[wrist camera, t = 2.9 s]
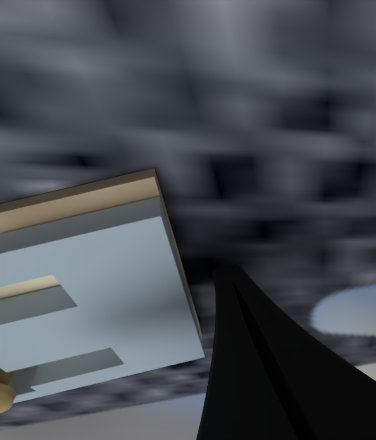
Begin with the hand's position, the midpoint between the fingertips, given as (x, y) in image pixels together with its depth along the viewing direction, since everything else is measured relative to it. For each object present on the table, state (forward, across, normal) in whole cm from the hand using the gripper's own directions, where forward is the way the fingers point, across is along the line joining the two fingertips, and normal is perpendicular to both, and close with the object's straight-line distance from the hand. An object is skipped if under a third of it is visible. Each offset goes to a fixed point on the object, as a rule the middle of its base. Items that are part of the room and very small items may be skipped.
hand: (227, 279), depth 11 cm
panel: (0, +9, 0) cm, 9 cm away
